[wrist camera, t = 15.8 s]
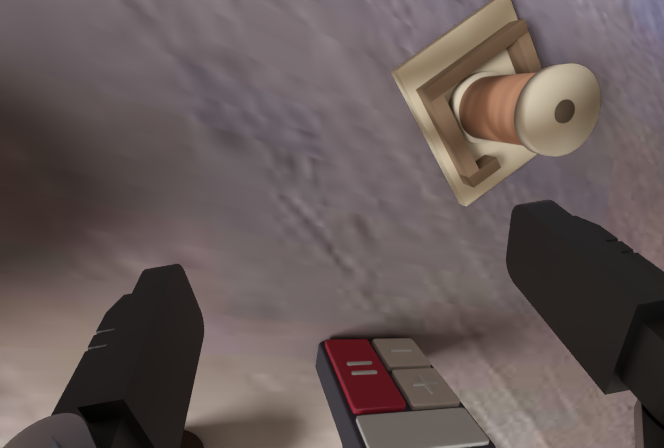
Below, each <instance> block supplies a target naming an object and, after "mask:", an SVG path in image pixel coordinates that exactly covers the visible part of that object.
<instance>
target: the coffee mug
mask: <svg viewBox="0 0 664 448" xmlns="http://www.w3.org/2000/svg"><path fill="white" fill-rule="evenodd" d="M180 448H204V446H203V443H202V442H201V440H200V439H199V438H198V437H197V436H196V435H194V434H193V433H191V432H188V431H183V435H182V440H181V445H180Z"/></svg>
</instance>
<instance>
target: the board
mask: <svg viewBox="0 0 664 448" xmlns="http://www.w3.org/2000/svg"><path fill="white" fill-rule="evenodd" d="M541 69H542V67H541V65H540V62H539V59H538V56H537V53H536V50H535V48H534V45H533V42H532V39H531V36H530V34H529V31H528V28H527V25H526V22H525V19H524V18H523V19H520V20H518V19H517V16H516V13H515V10H514V8H513V5H512V2H511V0H491V1H489V2H488V3H486V4H485V5H484V6H482V7H481V8H479V9H478V10H477V11H475V12H474V13H472V14H471V15H470V16H468V17H467V18H465V19H464V20H463V21H461V22H460V23H458V24H457V25H456V26H454V27H453V28H451V29H450V30H449V31H447V32H446V33H444V34H443V35H442V36H440V37H439V38H437V39H436V40H435V41H433V42H432V43H430V44H429V45H428V46H426V47H425V48H423V49H422V50H421V51H419V52H418V53H416V54H415V55H414V56H412V57H411V58H409V59H408V60H407V61H405V62H404V63H402V64H401V65H400V66H398V67H397V68H395V69H394V70H393V71H391V74H392V75H393V77H394V79H395V81H396V83H397V85H398V87H399V89H400V91H401V93H402V95H403V97H404V98H405V100H406V102H407V104H408V106H409V108H410V110H411V112H412V114H413V116H414V118H415V120H416V121H417V123H418V125H419V127H420V129H421V131H422V133H423V135H424V137H425V139H426V141H427V143H428V144H429V146H430V148H431V150H432V152H433V154H434V156H435V158H436V160H437V162H438V164H439V166H440V167H441V169H442V171H443V173H444V175H445V177H446V179H447V181H448V183H449V185H450V187H451V189H452V190H453V192H454V194H455V196H456V198H457V200H458V202H459V204H461V205H463V206H468V205H469V204H470V203H472V202H473V201H475V200H476V199H477V198H479V197H480V196H481V195H483V194H484V193H485V192H487V191H488V190H489V189H491V188H492V187H493V186H495V185H496V184H498V183H499V182H500V181H502V180H503V179H504V178H506V177H507V176H508V175H510V174H511V173H512V172H514V171H515V170H517V169H518V168H519V167H521V166H522V165H523V164H525V163H526V162H527V161H529V160H530V159H531V158H533V157H534V156H536V155H537V154H536V153H533V152H531V151H529V150H528V149H526V148H525V147H524V146H521V145H515V144H509V143H502V142H496V141H490V142H487V143H474V142H468V141H465V139H464V137H463V134H462V132H461V130H460V128H459V126H458V124H457V122H456V120H455V118H454V115H453V113H452V111H451V109H450V107H449V105H448V103H449V99H450V96H451V94H452V92H453V90H454V88H455V87H456V86H457V84H458V83H459V82H460V81H461V80H463V79H464V78H465V77H467V76H468V75H471V74H473V73H478V72H496V73H499V74H501V75H511V74H524V73H536V72H538V71H540V70H541Z"/></svg>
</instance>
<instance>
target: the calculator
mask: <svg viewBox="0 0 664 448" xmlns="http://www.w3.org/2000/svg"><path fill="white" fill-rule="evenodd" d="M316 370H317V373H318V376H319V378H320V381H321V384H322V387H323V390H324V393H325V396H326V398H327V401H328V404H329V407H330V410H331V413H332V416H333V419H334V421H335V424H336V427H337V430H338V433H339V436H340V439H341V442H342V446H343V448H496V447H495V445H494V444H493V442H492V441H491V440H490V439H489V437H488V436H487V435H486V434H485V432H484V431H483V430H482V428H481V427H480V426H479V425H478V423H477V422H476V421H475V420H474V418H473V417H472V416H471V414H470V413H469V412H468V411H467V409H466V408H465V407H464V406H463V404H462V403H461V402H460V399H459V398H458V397H457V395H456V394H455V393H454V392H453V390H452V389H451V388H450V387H449V385H448V384H447V383H446V381H445V380H444V379H443V378H442V376H441V375H440V374H439V373H438V371H437V370H436V369H434V367H433V366H432V365H431V363H430V361H429V360H428V359H427V357H426V356H425V355H424V354H423V352H422V351H421V350H420V349H419V347H418V346H417V345H416V343H415V342H414V341H413V340H412V339H410V338H394V339H373V341H368V340H367V339H339V340H326V341H325V342H321V343H320V344H319V348H318V354H317V360H316Z"/></svg>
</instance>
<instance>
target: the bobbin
mask: <svg viewBox="0 0 664 448" xmlns="http://www.w3.org/2000/svg"><path fill="white" fill-rule="evenodd" d="M448 105H449V107H450V109H451V111H452V113H453V115H454V118H455V120H456V122H457V124H458V126H459V128H460V130H461V132H462V134H463V137H464V139H465V141H468V142H474V143H487V142H490V141H496V142H502V143H509V144H515V145H521V146H524V147H525V148H526V149H528V150H529V151H531V152H533V153H536V154H542V155H547V156H562V155H566V154H568V153H570V152H572V151H574V150H575V149H577V148H578V147H579V146H581V145H582V144H583V143H584V142H585V140H586V139H587V138H588V137H589V135H590V134H591V132H592V130H593V129H594V127H595V124H596V122H597V119H598V116H599V112H600V106H601V94H600V88H599V85H598V82H597V80H596V78H595V76H594V75H593V73H592V72H591V71H590V70H589V69H587V68H586V67H584V66H582V65H579V64H560V65H551V66H548V67H545V68H543V69H541V70H540V71H538V72H536V73H524V74H511V75H501V74H499V73H496V72H478V73H473V74H471V75H468V76H467V77H465V78H464V79H463V80H461V81H460V82H459V83H458V84H457V86H456V87H455V88H454V90H453V92H452V94H451V96H450V99H449V103H448Z"/></svg>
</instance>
